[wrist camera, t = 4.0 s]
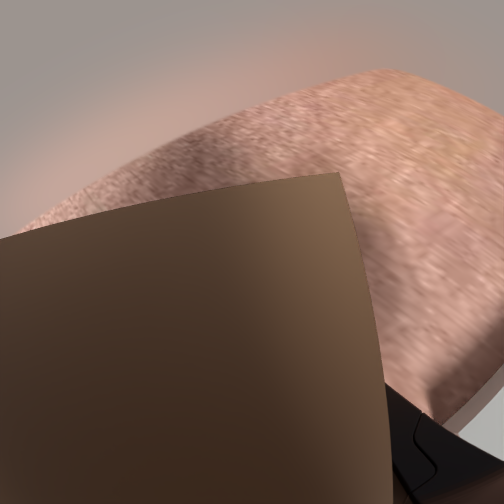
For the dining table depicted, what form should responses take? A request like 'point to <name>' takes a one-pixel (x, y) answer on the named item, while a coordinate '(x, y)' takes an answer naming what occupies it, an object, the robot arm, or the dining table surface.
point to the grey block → (483, 417)
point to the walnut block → (194, 354)
